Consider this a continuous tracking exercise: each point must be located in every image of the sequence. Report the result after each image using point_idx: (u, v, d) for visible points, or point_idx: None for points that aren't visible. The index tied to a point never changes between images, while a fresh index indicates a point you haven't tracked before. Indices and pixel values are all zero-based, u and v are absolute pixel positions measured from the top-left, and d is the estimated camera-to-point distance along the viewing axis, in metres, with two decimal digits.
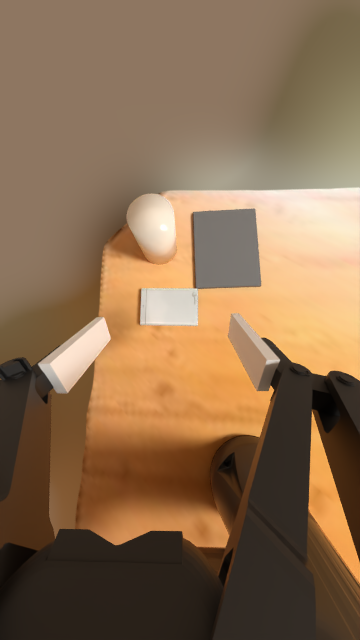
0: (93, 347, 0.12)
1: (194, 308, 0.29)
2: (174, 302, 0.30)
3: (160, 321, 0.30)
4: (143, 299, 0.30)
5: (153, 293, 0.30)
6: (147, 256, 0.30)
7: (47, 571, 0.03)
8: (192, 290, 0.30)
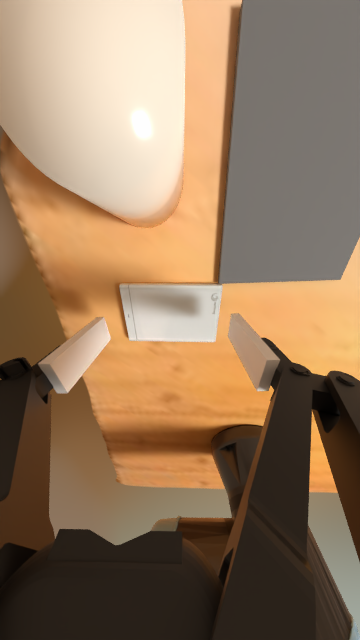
0: (93, 347, 0.12)
1: (212, 319, 0.18)
2: (180, 310, 0.18)
3: (159, 337, 0.20)
4: (126, 305, 0.18)
5: (142, 296, 0.17)
6: None
7: (47, 571, 0.03)
8: (212, 289, 0.17)
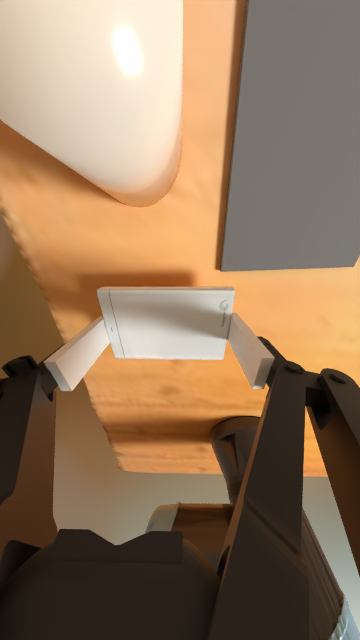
0: (96, 346, 0.13)
1: (221, 334, 0.14)
2: (178, 322, 0.14)
3: (152, 354, 0.16)
4: (108, 316, 0.13)
5: (127, 304, 0.13)
6: None
7: (47, 571, 0.03)
8: (221, 296, 0.12)
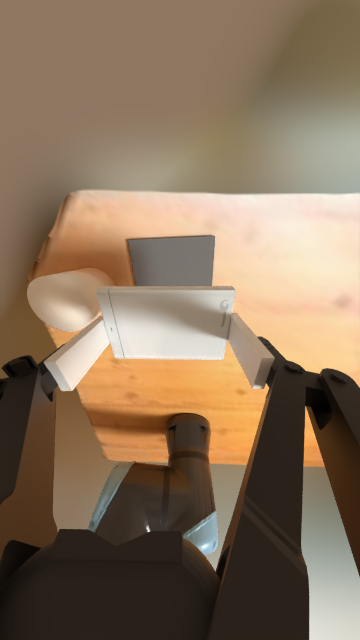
0: (96, 346, 0.13)
1: (221, 333, 0.14)
2: (178, 322, 0.13)
3: (152, 354, 0.15)
4: (108, 316, 0.13)
5: (127, 304, 0.13)
6: None
7: (47, 571, 0.03)
8: (221, 295, 0.12)
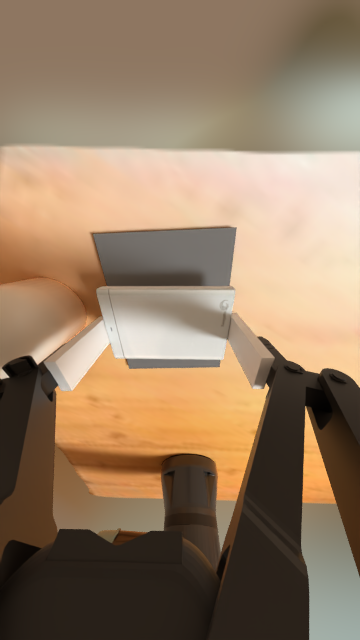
0: (96, 346, 0.13)
1: (221, 333, 0.14)
2: (178, 322, 0.13)
3: (152, 354, 0.15)
4: (108, 316, 0.13)
5: (127, 304, 0.13)
6: None
7: (47, 571, 0.03)
8: (221, 295, 0.12)
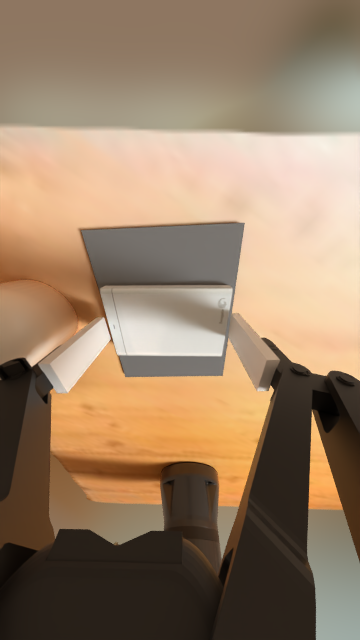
0: (93, 347, 0.12)
1: (219, 330, 0.15)
2: (178, 319, 0.14)
3: (153, 351, 0.16)
4: (111, 314, 0.14)
5: (129, 302, 0.13)
6: None
7: (47, 571, 0.03)
8: (219, 293, 0.13)
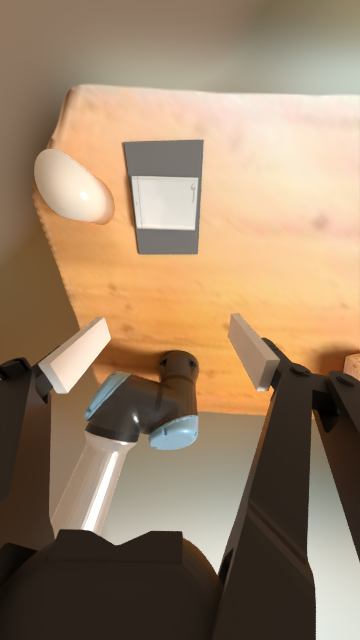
0: (93, 347, 0.12)
1: (192, 207, 0.27)
2: (171, 199, 0.27)
3: (157, 224, 0.29)
4: (135, 193, 0.27)
5: (146, 185, 0.26)
6: None
7: (47, 571, 0.03)
8: (191, 180, 0.26)
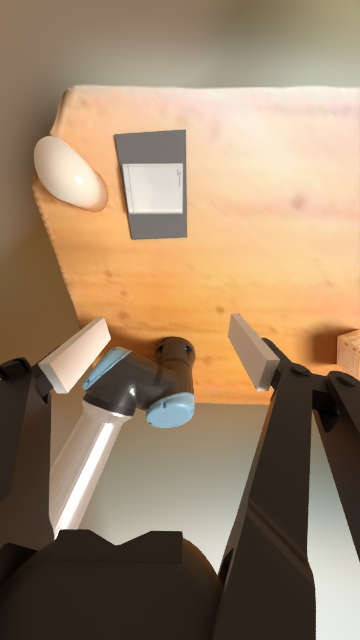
0: (93, 347, 0.12)
1: (179, 191, 0.30)
2: (159, 184, 0.29)
3: (147, 208, 0.31)
4: (126, 180, 0.29)
5: (136, 172, 0.29)
6: None
7: (47, 571, 0.03)
8: (177, 166, 0.28)
